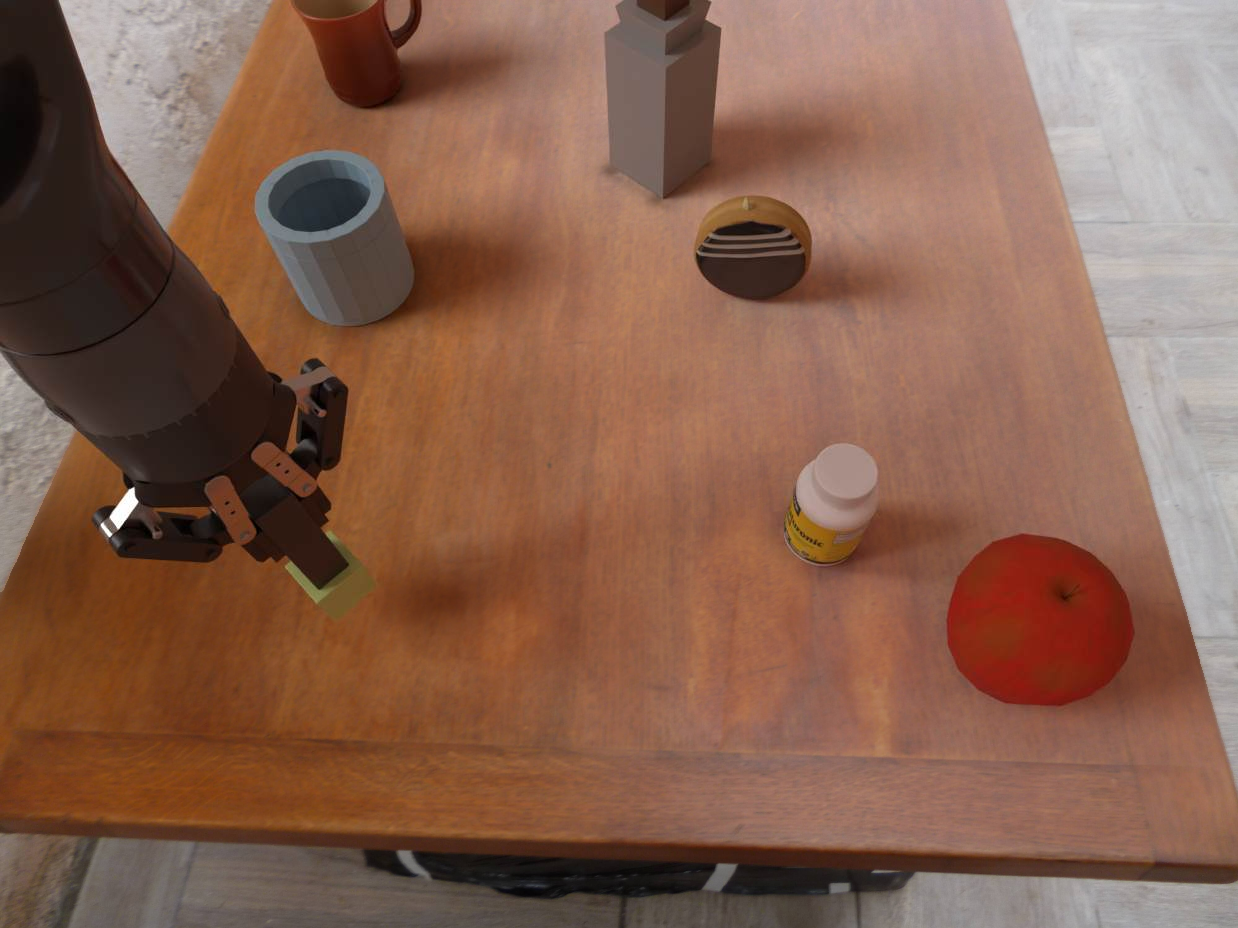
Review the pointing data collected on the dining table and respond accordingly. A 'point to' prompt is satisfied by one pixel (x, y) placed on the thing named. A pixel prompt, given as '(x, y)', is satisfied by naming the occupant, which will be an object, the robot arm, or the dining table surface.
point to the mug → (358, 46)
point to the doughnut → (753, 247)
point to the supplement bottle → (832, 505)
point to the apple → (1038, 622)
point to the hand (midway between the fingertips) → (293, 531)
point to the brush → (308, 548)
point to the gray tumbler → (337, 236)
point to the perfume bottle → (661, 90)
